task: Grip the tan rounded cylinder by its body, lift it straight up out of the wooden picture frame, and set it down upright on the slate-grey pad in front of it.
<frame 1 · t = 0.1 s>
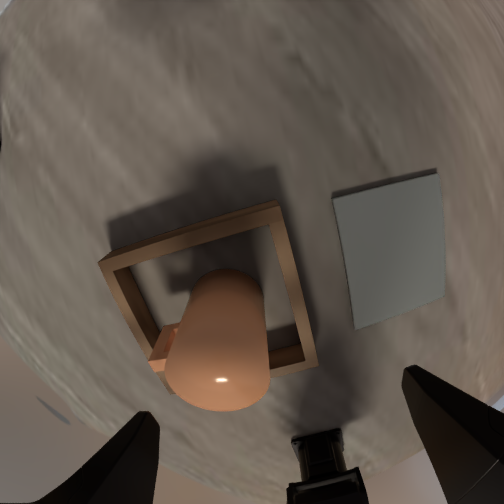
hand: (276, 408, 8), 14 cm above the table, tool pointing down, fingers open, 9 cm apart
pad: (398, 253, 22), on the table
wooden picture frame: (215, 305, 23), on the table
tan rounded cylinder: (227, 302, 23), resting in wooden picture frame
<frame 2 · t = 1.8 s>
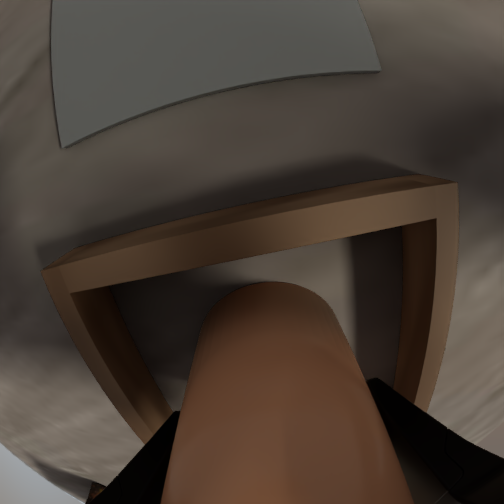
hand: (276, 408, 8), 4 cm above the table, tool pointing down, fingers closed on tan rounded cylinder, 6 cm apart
wooden picture frame: (274, 362, 12), on the table
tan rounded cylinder: (270, 345, 12), resting in wooden picture frame, touching gripper
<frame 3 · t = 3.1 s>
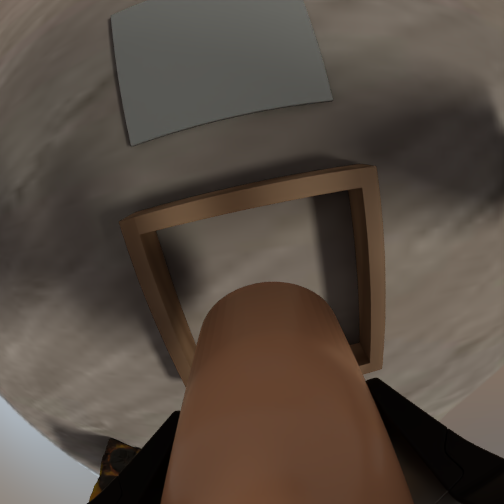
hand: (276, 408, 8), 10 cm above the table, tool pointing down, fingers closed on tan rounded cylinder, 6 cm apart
pad: (212, 44, 13), on the table
wooden picture frame: (268, 291, 18), on the table
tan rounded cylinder: (270, 345, 12), point 7 cm above the table, touching gripper
candle: (147, 463, 28), on the table
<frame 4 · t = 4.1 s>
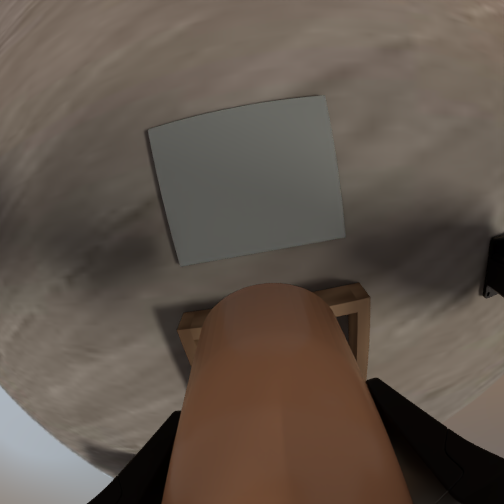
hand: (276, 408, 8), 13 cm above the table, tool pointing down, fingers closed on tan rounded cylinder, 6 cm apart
pad: (249, 180, 19), on the table
wooden picture frame: (283, 366, 24), on the table
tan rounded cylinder: (270, 346, 12), point 9 cm above the table, touching gripper
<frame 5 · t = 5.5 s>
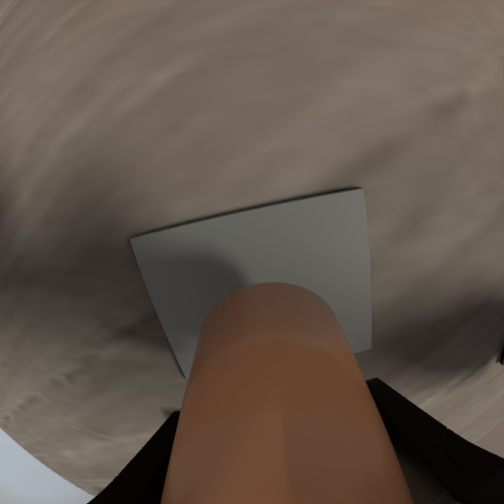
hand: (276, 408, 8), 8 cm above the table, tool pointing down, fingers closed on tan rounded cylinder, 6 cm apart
pad: (263, 300, 15), on the table
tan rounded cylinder: (270, 345, 12), point 4 cm above the table, touching gripper
when the fingers open (5 cm above the table, at t = 6.5 s): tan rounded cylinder drops 1 cm, resting on pad.
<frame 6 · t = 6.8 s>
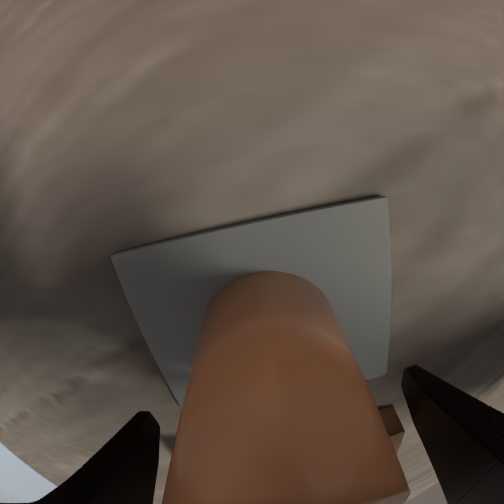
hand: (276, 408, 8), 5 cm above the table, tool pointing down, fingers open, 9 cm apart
pad: (267, 326, 13), on the table
wooden picture frame: (301, 470, 18), on the table
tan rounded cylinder: (269, 331, 13), resting on pad
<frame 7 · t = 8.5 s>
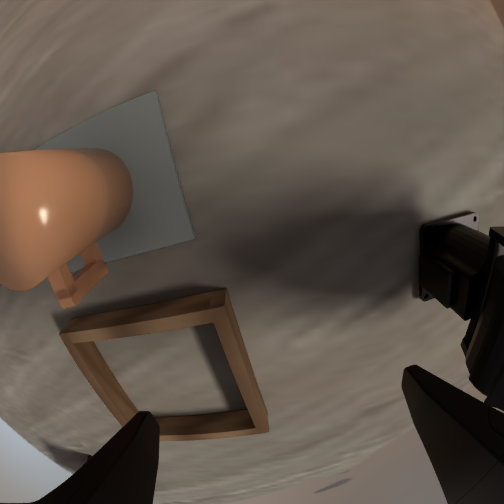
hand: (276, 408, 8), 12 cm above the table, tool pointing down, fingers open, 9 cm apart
pad: (96, 191, 17), on the table
wooden picture frame: (171, 374, 22), on the table
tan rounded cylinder: (94, 192, 17), resting on pad
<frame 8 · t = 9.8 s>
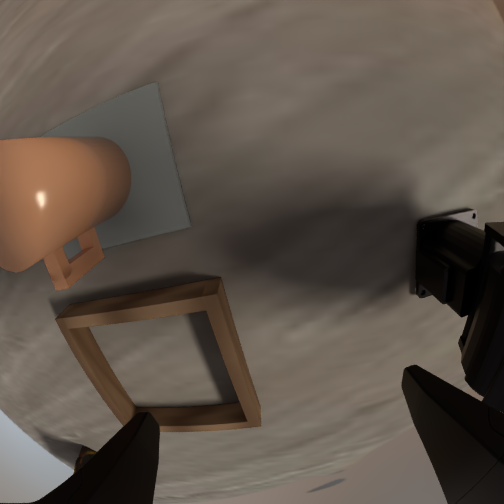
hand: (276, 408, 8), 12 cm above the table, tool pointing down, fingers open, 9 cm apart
pad: (96, 178, 17), on the table
wooden picture frame: (164, 363, 23), on the table
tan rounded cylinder: (93, 179, 17), resting on pad
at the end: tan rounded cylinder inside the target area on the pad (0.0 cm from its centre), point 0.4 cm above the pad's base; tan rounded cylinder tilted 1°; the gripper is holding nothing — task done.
